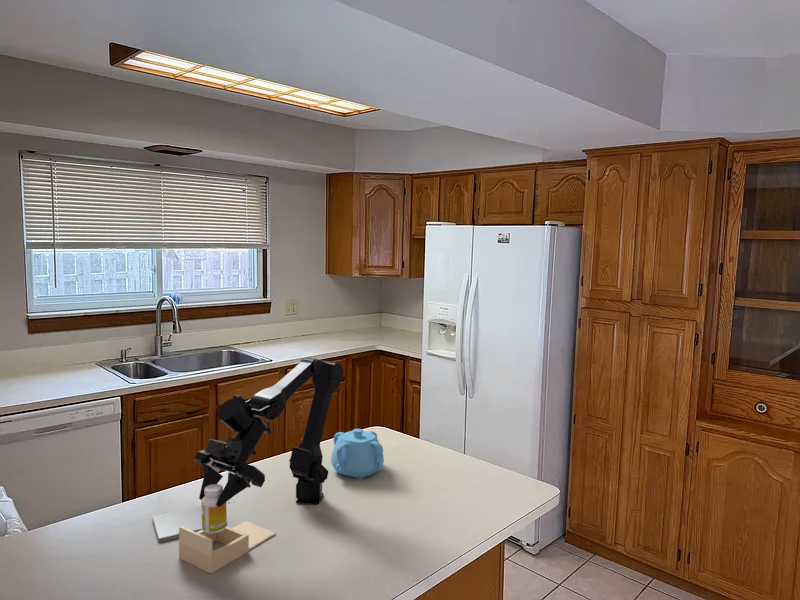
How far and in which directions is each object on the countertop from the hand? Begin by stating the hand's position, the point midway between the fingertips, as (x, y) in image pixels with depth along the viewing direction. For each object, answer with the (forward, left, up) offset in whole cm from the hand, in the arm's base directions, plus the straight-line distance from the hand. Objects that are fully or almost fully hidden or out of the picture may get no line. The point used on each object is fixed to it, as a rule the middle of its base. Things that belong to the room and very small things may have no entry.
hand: (209, 502), depth 128 cm
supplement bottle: (-1, -1, -7) cm, 7 cm away
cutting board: (+11, -14, -13) cm, 22 cm away
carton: (-3, -5, -13) cm, 14 cm away
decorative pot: (-26, -52, -13) cm, 60 cm away
